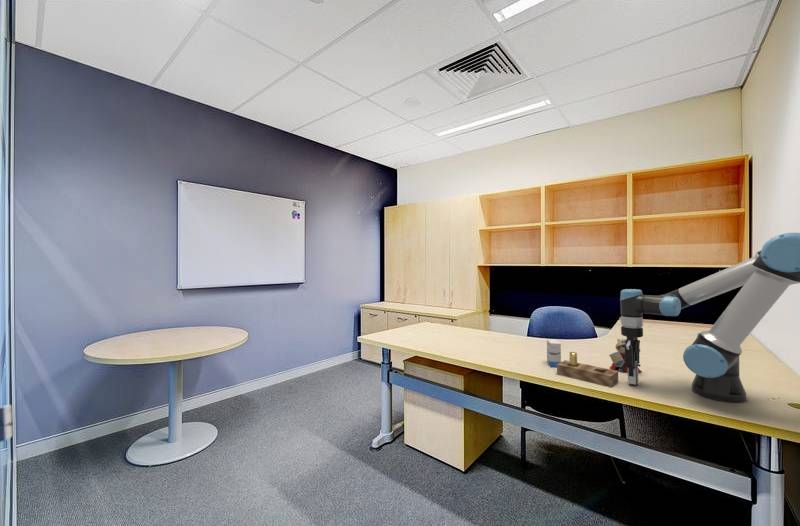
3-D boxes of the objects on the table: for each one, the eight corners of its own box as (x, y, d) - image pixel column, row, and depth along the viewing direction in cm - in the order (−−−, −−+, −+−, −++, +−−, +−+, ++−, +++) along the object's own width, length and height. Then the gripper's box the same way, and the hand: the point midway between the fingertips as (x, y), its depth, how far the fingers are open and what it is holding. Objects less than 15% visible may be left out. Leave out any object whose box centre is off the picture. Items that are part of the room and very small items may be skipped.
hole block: (618, 381, 143) (618, 371, 142) (611, 387, 137) (611, 376, 137) (565, 369, 159) (565, 360, 159) (557, 374, 153) (556, 364, 153)
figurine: (606, 371, 156) (606, 339, 156) (611, 365, 164) (611, 334, 164) (640, 377, 147) (640, 343, 147) (644, 370, 155) (643, 338, 155)
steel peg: (638, 384, 139) (638, 360, 139) (636, 386, 137) (635, 362, 137) (629, 382, 141) (629, 359, 141) (627, 384, 139) (627, 360, 139)
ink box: (561, 367, 162) (561, 343, 162) (550, 367, 163) (550, 343, 163) (557, 362, 170) (556, 339, 170) (546, 361, 171) (546, 339, 171)
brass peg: (578, 374, 152) (578, 352, 152) (575, 376, 150) (575, 354, 150) (571, 373, 154) (571, 351, 154) (568, 374, 152) (568, 352, 152)
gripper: (626, 322, 147) (628, 375, 147) (615, 328, 136) (616, 385, 137) (647, 324, 141) (649, 380, 141) (637, 330, 131) (638, 390, 131)
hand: (633, 382), depth 139 cm, fingers closed on steel peg, 3 cm apart
